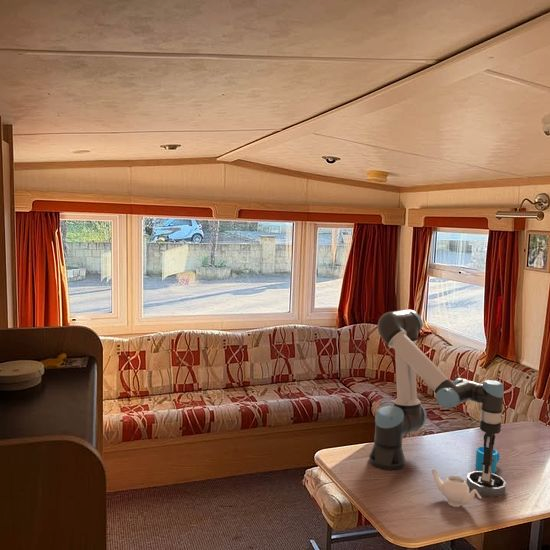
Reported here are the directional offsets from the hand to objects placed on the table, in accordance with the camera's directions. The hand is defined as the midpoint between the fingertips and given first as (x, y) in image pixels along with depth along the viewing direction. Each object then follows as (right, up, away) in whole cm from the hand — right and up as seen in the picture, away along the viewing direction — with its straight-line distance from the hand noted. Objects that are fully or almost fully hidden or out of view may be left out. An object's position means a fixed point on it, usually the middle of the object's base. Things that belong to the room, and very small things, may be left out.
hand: (486, 478), depth 210 cm
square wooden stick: (0, -2, 0) cm, 2 cm away
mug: (+8, -3, +18) cm, 20 cm away
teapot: (-16, -5, -12) cm, 21 cm away
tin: (0, -4, 0) cm, 4 cm away
